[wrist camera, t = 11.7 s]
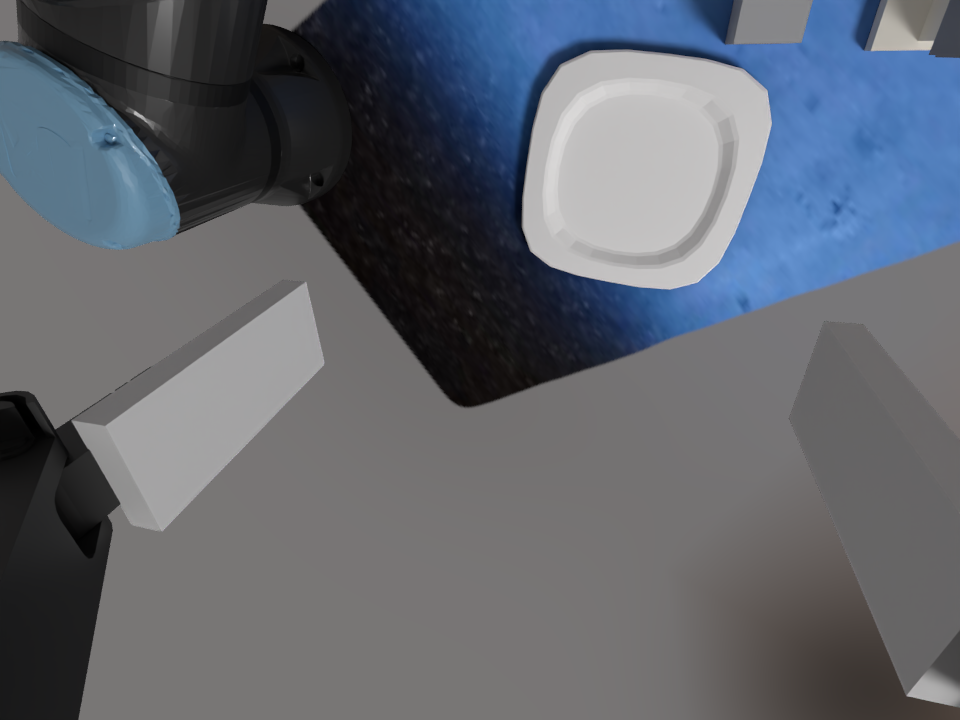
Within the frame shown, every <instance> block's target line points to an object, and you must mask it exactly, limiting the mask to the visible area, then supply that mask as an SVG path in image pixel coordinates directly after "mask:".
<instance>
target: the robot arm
mask: <svg viewBox="0 0 960 720" xmlns="http://www.w3.org/2000/svg"><path fill="white" fill-rule="evenodd" d="M16 1H17V20H18V42H9V41H0V173H1V175H2V176H3V177H4V178H5V179H6V180H7V181H8V182H9V184H10V185H11V186H12V188H13V189H14V190H15V191H16V193H17V194H18V195H19V196H20V197H21V198H22V199H23V200H24V201H25V202H26V203H27V204H28V205H29V206H30V207H31V208H32V209H34V210H35V211H36V212H37V213H38V214H39V215H41V216H42V217H43V218H44V219H46V220H47V221H48V222H50V223H51V224H52V225H54V226H55V227H57V228H58V229H60V230H61V231H63V232H64V233H66V234H68V235H70V236H72V237H74V238H76V239H78V240H80V241H82V242H85V243H88V244H90V245H93V246H97V247H101V248H106V249H117V250H119V249H130V248H134V247H137V246H140V245H143V244H146V243H150V242H152V241H162V240H168V239H170V238H172V237H174V236H175V235H176V234H179V233H181V232H184V231H186V230H188V229H191V228H193V227H196V226H198V225H200V224H203V223H205V222H207V221H210V220H212V219H214V218H217V217H219V216H222V215H224V214H226V213H229V212H231V211H233V210H236V209H238V208H240V207H243V206H245V205H247V204H250V203H259V204H269V205H278V206H292V205H299V204H303V203H306V202H309V201H311V200H313V199H315V198H317V197H320V196H322V195H323V194H325V193H327V192H328V191H329V190H330V189H332V188H333V187H334V186H335V185H336V183H337V182H338V181H339V179H340V178H341V176H342V175H343V173H344V171H345V169H346V166H347V164H348V160H349V157H350V152H351V145H352V126H351V118H350V112H349V108H348V104H347V101H346V98H345V95H344V92H343V90H342V88H341V85H340V83H339V81H338V79H337V78H336V76H335V74H334V72H333V71H332V69H331V68H330V66H329V65H328V63H327V62H326V61H325V60H324V58H323V57H322V56H321V55H320V54H319V53H318V51H317V50H316V49H315V48H313V47H312V46H311V45H310V44H309V43H308V42H307V41H305V40H304V39H303V38H301V37H300V36H298V35H296V34H295V33H293V32H291V31H289V30H287V29H284V28H281V27H278V26H275V25H270V24H263V20H264V14H265V10H266V5H267V0H16ZM324 364H325V363H324V358H323V354H322V350H321V345H320V341H319V336H318V332H317V328H316V323H315V319H314V315H313V310H312V306H311V301H310V297H309V293H308V288H307V283H306V282H304V281H290V280H282V281H280V282H279V283H277V284H276V285H274V286H273V287H271V288H270V289H268V290H267V291H265V292H264V293H262V294H261V295H259V296H258V297H256V298H255V299H253V300H252V301H250V302H249V303H247V304H246V305H244V306H242V307H241V308H239V309H238V310H236V311H235V312H233V313H232V314H230V315H229V316H227V317H226V318H225V319H223V320H221V321H220V322H219V323H217V324H215V325H214V326H212V327H211V328H210V329H208V330H206V331H205V332H203V333H202V334H200V335H199V336H197V337H196V338H195V339H193V340H192V341H190V342H188V343H187V344H185V345H184V346H182V347H181V348H179V349H178V350H176V351H175V352H173V353H172V354H170V355H169V356H167V357H166V358H164V359H163V360H161V361H160V362H158V363H157V364H155V365H154V366H152V367H149V368H148V369H146V370H145V371H143V372H142V373H140V374H139V375H137V376H136V377H134V378H133V379H131V381H130V382H127V383H125V384H124V385H122V386H121V387H119V388H118V389H116V390H115V392H113V393H110V394H109V395H107V396H106V397H104V398H103V399H101V400H100V401H98V402H97V403H95V404H94V405H92V406H90V407H89V408H87V409H86V410H84V411H83V412H82V413H80V414H79V415H77V416H75V417H74V418H72V419H71V420H70V421H68V422H66V423H65V424H63V425H62V426H60V427H59V428H57V429H56V430H55V429H54V427H53V425H52V424H51V422H50V420H49V419H48V417H47V415H46V414H45V412H44V410H43V409H42V407H41V406H40V404H39V402H38V401H37V399H36V397H35V396H34V395H33V394H31V393H29V392H26V391H12V392H5V393H0V720H78V718H79V713H80V707H81V702H82V696H83V691H84V685H85V679H86V674H87V669H88V663H89V658H90V652H91V647H92V641H93V636H94V630H95V625H96V619H97V614H98V608H99V603H100V597H101V592H102V586H103V581H104V575H105V570H106V565H107V559H108V553H109V548H110V542H111V537H112V531H113V529H112V523H111V521H110V520H109V518H108V516H107V515H108V514H110V513H111V512H112V511H113V510H114V509H115V508H116V507H117V506H119V505H120V506H121V508H122V509H123V511H124V513H125V515H126V516H127V518H128V520H129V522H130V523H131V525H134V526H139V527H144V528H148V529H152V530H157V531H161V532H162V531H163V530H164V529H165V528H166V527H167V526H168V525H169V524H170V522H171V521H173V520H174V518H175V517H176V516H177V515H178V514H179V513H180V512H181V511H182V510H183V509H184V508H185V507H186V506H187V505H188V504H189V503H190V502H191V501H192V500H193V499H194V498H195V497H196V496H197V495H198V494H199V493H200V492H201V491H202V490H203V489H204V488H205V487H206V486H207V485H208V483H209V482H210V481H211V480H212V479H213V478H214V477H215V476H216V475H217V474H218V473H219V472H220V471H221V470H222V469H223V468H224V467H225V466H226V465H227V464H228V463H229V462H230V461H231V460H232V459H233V458H234V457H235V456H236V454H238V452H240V451H241V450H242V449H243V447H244V446H245V445H246V444H247V443H248V442H249V441H250V440H251V439H252V438H253V437H254V436H255V435H256V434H257V433H258V432H259V431H260V430H261V429H262V428H263V427H264V426H265V425H266V424H267V423H268V422H269V421H270V419H272V418H273V417H274V415H276V414H277V412H278V411H279V410H280V409H281V408H282V407H283V406H284V405H285V404H286V403H287V402H288V401H289V400H290V399H291V398H292V397H293V396H294V395H295V394H296V393H297V392H298V391H299V390H300V389H301V388H302V387H303V386H304V385H305V384H306V383H307V382H308V381H309V380H310V379H311V377H312V376H313V375H314V374H315V373H316V372H317V371H318V370H319V369H320V368H321V367H322V366H323V365H324ZM789 420H790V422H791V424H792V427H793V429H794V431H795V434H796V436H797V439H798V441H799V443H800V446H801V448H802V450H803V453H804V455H805V458H806V460H807V462H808V464H809V467H810V469H811V472H812V474H813V476H814V478H815V481H816V484H817V486H818V488H819V491H820V493H821V495H822V498H823V500H824V502H825V505H826V507H827V509H828V512H829V514H830V517H831V519H832V521H833V524H834V526H835V528H836V531H837V533H838V535H839V538H840V540H841V543H842V545H843V547H844V550H845V552H846V554H847V557H848V559H849V561H850V564H851V566H852V568H853V571H854V573H855V575H856V578H857V580H858V583H859V585H860V587H861V590H862V592H863V595H864V597H865V599H866V601H867V604H868V606H869V608H870V611H871V613H872V616H873V618H874V620H875V623H876V625H877V627H878V630H879V632H880V635H881V637H882V639H883V642H884V644H885V646H886V649H887V651H888V654H889V656H890V658H891V661H892V663H893V665H894V667H895V670H896V672H897V675H898V677H899V680H900V682H901V684H902V686H903V689H904V691H905V694H906V696H910V697H914V698H919V699H923V700H928V701H932V702H937V703H941V704H946V705H951V706H955V707H959V708H960V440H959V438H958V437H957V436H956V435H955V434H954V432H953V431H952V430H951V429H950V428H949V426H948V425H947V424H946V423H945V422H944V421H943V419H942V418H941V417H940V416H939V415H938V414H937V412H936V411H935V410H934V408H933V407H932V406H931V405H930V404H929V402H928V401H927V400H926V399H925V398H924V397H923V395H922V394H921V393H920V392H919V391H918V389H917V388H916V387H915V386H914V385H913V383H912V382H911V381H910V380H909V379H908V378H907V376H906V375H905V374H904V373H903V371H902V370H901V369H900V368H899V367H898V365H897V364H896V363H895V362H894V361H893V360H892V358H891V357H890V356H889V355H888V353H887V352H886V351H885V350H884V349H883V347H882V346H881V345H880V344H879V343H878V341H877V340H876V339H875V338H874V337H873V336H872V334H871V333H870V332H869V331H868V330H867V328H866V327H865V326H864V325H863V324H855V323H841V322H828V321H824V323H823V326H822V328H821V331H820V334H819V337H818V339H817V342H816V345H815V348H814V351H813V353H812V356H811V359H810V362H809V364H808V367H807V370H806V373H805V375H804V379H803V381H802V383H801V386H800V389H799V392H798V395H797V397H796V400H795V403H794V405H793V409H792V411H791V414H790V417H789Z"/></svg>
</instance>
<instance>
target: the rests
mask: <svg viewBox="0 0 960 720" xmlns="http://www.w3.org/2000/svg"><path fill="white" fill-rule="evenodd" d="M812 1H813V0H734V2H733V7H732V12H731V16H730V21H729V26H728V31H727V36H726V41H725V44H781V43H801V42H802V38H803V34H804V31H805V27H806V23H807V20H808V16H809V12H810V9H811V5H812Z"/></svg>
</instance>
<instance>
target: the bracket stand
mask: <svg viewBox="0 0 960 720" xmlns="http://www.w3.org/2000/svg"><path fill="white" fill-rule="evenodd" d="M893 50H930V53H929V55H936V56H935V57H953V58H960V0H881V1H880V4H879V7H878V10H877V13H876V16H875V19H874V22H873V25H872V28H871V31H870V34H869V37H868V40H867V43H866V46H865V50H864V51H893Z"/></svg>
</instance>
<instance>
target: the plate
mask: <svg viewBox="0 0 960 720" xmlns="http://www.w3.org/2000/svg"><path fill="white" fill-rule="evenodd" d="M771 125H772V121H771V114H770V106H769V99H768V91H767V90H766V89H765V88H764V87H763V86H762V85H761V84H760V83H759V82H757V81H756V80H755V79H754V78H753V77H752V76H751V75H750V74H748V73H747V72H746V71H745V70H744V69H742V68H738V67H734V66H731V65H727V64H724V63H720V62H716V61H713V60H709V59H704V58H697V57H689V56H682V55H674V54H667V53H657V52H647V51H638V50H628V49H626V50H594V51H588V52H586V53H584V54H582V55H580V56H577V57H575V58H573V59H571V60H569V61H566V62H564V63H562V64H560V65H559V67H558V69H557V70H556V72H555V73H554V75H553V76H552V78H551V79H550V81H549V82H548V84H547V85H546V87H545V88H544V90H543V91H542V93H541V97H540V101H539V104H538V108H537V112H536V116H535V119H534V123H533V127H532V133H531V139H530V145H529V152H528V158H527V165H526V173H525V180H524V188H523V196H522V229H523V232H524V235H525V238H526V240H527V243H528V246H529V249H530V251H531V252H532V253H533V254H535V255H536V256H537V257H539V258H540V259H541V260H542V261H544V262H545V263H546V264H548V265H549V266H550V267H553V268H556V269H560V270H563V271H566V272H569V273H572V274H575V275H579V276H583V277H588V278H593V279H598V280H603V281H607V282H613V283H619V284H624V285H630V286H635V287H644V288H657V289H673V288H678V287H682V286H686V285H690V284H694V283H697V282H699V281H700V280H701V279H702V278H703V277H704V276H705V275H706V274H707V273H708V272H710V271H711V270H712V269H713V268H714V267H715V266H716V265H717V264H718V263H719V262H720V260H721V258H722V256H723V254H724V253H725V251H726V249H727V247H728V245H729V243H730V241H731V240H732V238H733V236H734V234H735V232H736V229H737V227H738V224H739V222H740V219H741V217H742V214H743V212H744V209H745V207H746V204H747V202H748V199H749V197H750V194H751V191H752V188H753V186H754V183H755V180H756V178H757V175H758V172H759V170H760V167H761V164H762V161H763V157H764V153H765V149H766V145H767V141H768V137H769V133H770V129H771Z"/></svg>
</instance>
